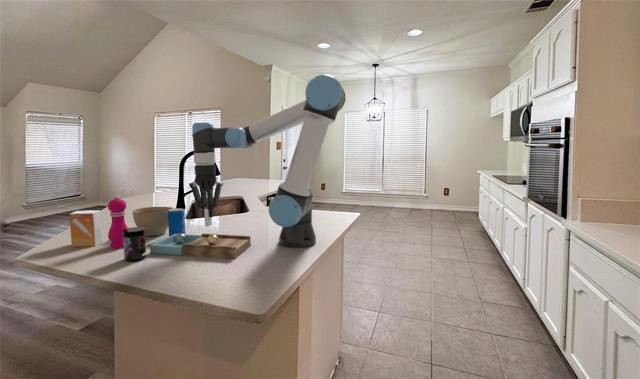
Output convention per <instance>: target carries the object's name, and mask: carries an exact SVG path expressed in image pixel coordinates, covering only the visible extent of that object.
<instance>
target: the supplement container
mask: <svg viewBox="0 0 640 379" xmlns="http://www.w3.org/2000/svg"><path fill="white" fill-rule="evenodd" d="M122 236H123V248H122V249H123V260H124V261H125V262H129V263H132V262H133V263H134V262H139V261H143V260H144V259H146V258H147V247H146V246H147V245H146V244H147V243H146V242H147V241H146V236H145V228H144V227H137V226H136V227H135V226H134V227H133V226H132V227H128V228H126V229H123V230H122Z"/></svg>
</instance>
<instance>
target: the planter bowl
mask: <svg viewBox="0 0 640 379" xmlns="http://www.w3.org/2000/svg"><path fill="white" fill-rule="evenodd" d="M169 209H174V208H173V207H171V206H149V207H140V208H136V209H133V210H131V213H132V216H133V217H132V219H133V222H134V223H135V226H136V227H144V228H145V237H147V236H149V237H151V236H154V237H155V236H160V235H164V234H166V233H167V229H169V227H168V212H169Z"/></svg>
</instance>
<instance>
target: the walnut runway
mask: <svg viewBox="0 0 640 379" xmlns="http://www.w3.org/2000/svg"><path fill="white" fill-rule="evenodd" d="M201 235H202V237H200V238H198V239H196V240H194V241H192V242H191V243H189V244H182V256H189V257H203V258H204V257H205V258H220V259H221V258H222V259H235V260H236V259H237V258H238V257H239V256H241V255H242V254H243V253H245V251H246V250H248V249H249V248H250V247H251V246H252V244H251V243H252V242H251V241H252V240H251V235H237V234H236V235H235V234H220V233H219V234H218V233H201ZM210 235H216V236H217V237H218V239H219V241H218V243H217V245H215V246H213V245H209V244H208V243H207V238H208V237H209V236H210Z"/></svg>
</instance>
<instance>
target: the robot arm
mask: <svg viewBox="0 0 640 379" xmlns="http://www.w3.org/2000/svg"><path fill="white" fill-rule="evenodd" d="M345 103H346V92H345V90H344V88H343V86H342V84H341V82H340V81H339V80H338V79H337V78H335V77H334V76H332V75H330V74H319V75H316V76H315V77H313V78H312V79H310V80H309V81H308V83H307V85H306V89H305V100H302V101H300V102H299V103H296V104H294V105H292V106H290V107H287V108H285V109H283V110H281V111H278V112H276V113H273V114H272V115H270V116H266V117H265V118H263V119H260V120H257V121H256V122H253V123H251V124H249V125H247V126H245V127H240V126H238V127H237V126H236V127H235V126H230V127H214V124H213V123H211V122H194V123H193V124H192V126H191V127H192V128H191V130H192V132H191V133H192V134H191V136H192V144H193V145H192V146H193V164H195V166H194V175H195V177H194V180H193V181H192V182H190V183H188V186H189V187H190V189H191V191H192V195H193V198H194V201H195V204H196V208H198V209H201V212H202V218H204V226H205V227H211V226H212V225H213V219H212V218H213V217H214V215H215V214H214V209H215V208H217V207H218V206H219V201H220V197H221V191H222V190H221V189H222V187H223V186H224V183H223V182H222V181H221V182H220V181H219V180H218V177H217V171H216V170H217V169H216V168H217V167H216V164H215V163H216V155H215V154H216V153H215V152H216V151H215V150H216V149H244V150H245V149H248V148H249V149H250V148H252V147H253V146H254V145H256V144H257V143H259V142H260V143H261V142H262V141H264V140H267V139H269V138H271V137H273V136H276V135H278V134H280V133H283V132H285V131H287V130H290V129H292V128H294V127H297V126H299V125H301V124H302V126H301V130H300V132H299V137H298V139H297V142H296V145H295V148H294V152H293V154H292V156H291V157H292V158H291V161H290V164H289V166H288V170H287V173H286V176H285V180H284V181H283V182H281V183H280V184H279V185H278V186H277V187H278V189H277V191H276V193H275V197H273V198H272V199H271V201H270V202H269V206H268V214H269V217H270V218H271V220H272V222H273V223H274V224H275V225H277V226H279V227H281V230H280V234H279V235H278V236H279V237H278V243H279V244H280V245H281V246H284V247H288V248H289V247H290V248H307V247H310V246H314V245H315V244H316V242H317V236H316V233H315V230H314V227H313V222H312V221H313V220H312V219H313V190H312V188H311V187H309V186H310V182H311V180H312V176H313V173H314V171H315V167H316V165H317V161H318V158H319V157H320V156H319V155H320V153H321V149H322V146H323V143H324V141H325V138H326V134H327V131H328V129H329V126H330V124H333V123H334V122H336V118H337V116H338V113H339V112H340V111H341V109H343V107H344V106H345ZM214 186H215V188H214ZM213 191H214V192H213Z"/></svg>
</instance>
